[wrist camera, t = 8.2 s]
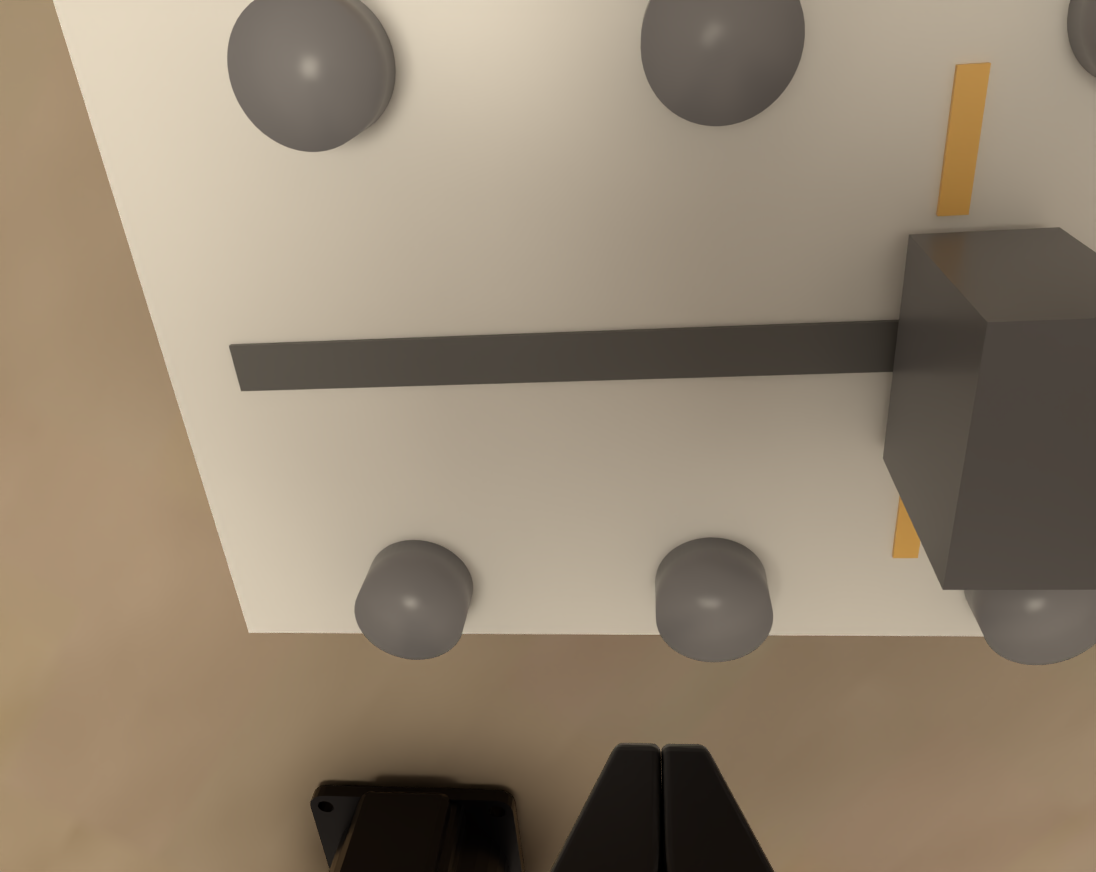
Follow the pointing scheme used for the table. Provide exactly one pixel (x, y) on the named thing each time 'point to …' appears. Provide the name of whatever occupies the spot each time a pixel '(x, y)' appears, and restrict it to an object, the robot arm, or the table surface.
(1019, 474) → the fader
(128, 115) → the mixer console
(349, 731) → the table surface
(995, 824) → the table surface
